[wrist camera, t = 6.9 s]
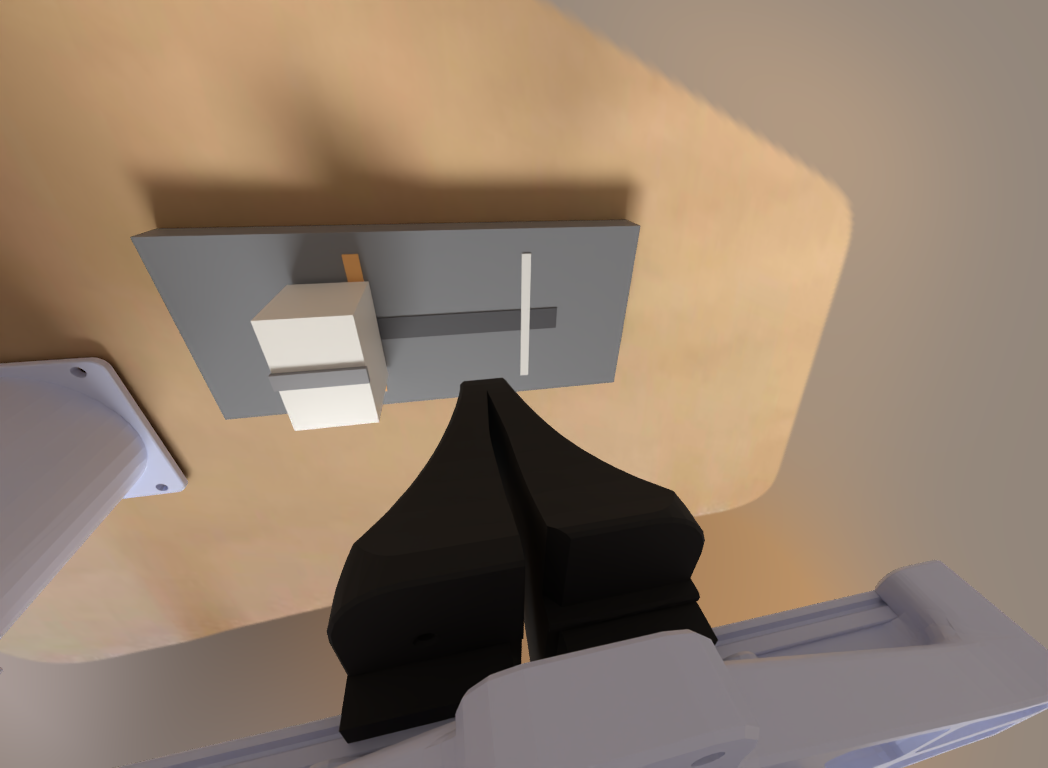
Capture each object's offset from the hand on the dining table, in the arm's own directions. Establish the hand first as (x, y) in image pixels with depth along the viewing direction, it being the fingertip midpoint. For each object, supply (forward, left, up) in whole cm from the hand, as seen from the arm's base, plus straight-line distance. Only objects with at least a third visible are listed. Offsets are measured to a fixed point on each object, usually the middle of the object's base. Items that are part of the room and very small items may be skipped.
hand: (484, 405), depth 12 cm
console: (-2, 0, -8) cm, 8 cm away
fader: (-5, 0, -6) cm, 8 cm away
